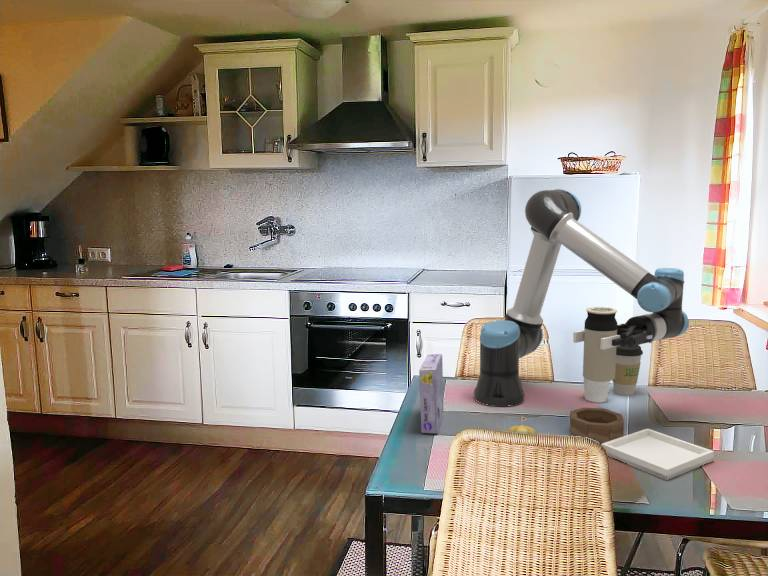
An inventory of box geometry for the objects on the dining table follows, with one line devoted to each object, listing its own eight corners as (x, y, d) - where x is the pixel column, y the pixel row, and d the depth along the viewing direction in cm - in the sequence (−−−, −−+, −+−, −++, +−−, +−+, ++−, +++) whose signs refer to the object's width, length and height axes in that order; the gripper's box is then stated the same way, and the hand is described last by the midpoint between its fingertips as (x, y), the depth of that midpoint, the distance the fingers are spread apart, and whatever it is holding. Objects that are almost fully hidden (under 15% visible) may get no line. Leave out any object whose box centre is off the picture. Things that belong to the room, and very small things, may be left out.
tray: (600, 453, 164) (601, 443, 163) (647, 437, 173) (647, 428, 173) (666, 480, 149) (667, 469, 148) (713, 461, 158) (714, 451, 158)
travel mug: (621, 380, 171) (624, 311, 168) (594, 383, 169) (597, 313, 166) (602, 372, 178) (605, 305, 175) (576, 375, 176) (579, 307, 173)
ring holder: (559, 432, 178) (560, 414, 177) (592, 422, 185) (593, 404, 184) (599, 447, 167) (600, 428, 166) (632, 436, 174) (633, 418, 173)
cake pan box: (427, 410, 196) (427, 351, 193) (444, 411, 195) (445, 352, 192) (418, 434, 178) (418, 370, 175) (437, 435, 177) (437, 370, 174)
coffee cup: (643, 398, 204) (645, 350, 202) (609, 396, 206) (611, 349, 204) (638, 388, 213) (640, 342, 211) (605, 387, 215) (607, 341, 213)
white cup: (580, 394, 208) (581, 363, 207) (606, 395, 207) (608, 364, 206) (584, 402, 201) (585, 370, 199) (611, 403, 200) (613, 371, 198)
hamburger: (504, 473, 153) (504, 423, 151) (503, 460, 160) (504, 412, 158) (538, 475, 152) (539, 425, 150) (536, 462, 159) (538, 414, 157)
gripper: (678, 350, 173) (621, 364, 161) (612, 335, 191) (556, 346, 178) (680, 321, 172) (623, 333, 160) (613, 309, 189) (557, 319, 177)
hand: (587, 340), depth 169 cm, fingers closed on travel mug, 8 cm apart
